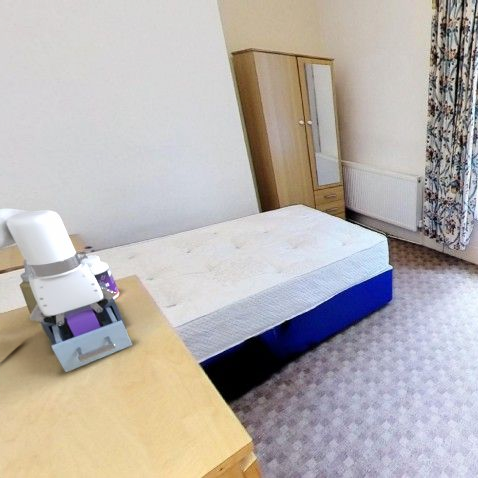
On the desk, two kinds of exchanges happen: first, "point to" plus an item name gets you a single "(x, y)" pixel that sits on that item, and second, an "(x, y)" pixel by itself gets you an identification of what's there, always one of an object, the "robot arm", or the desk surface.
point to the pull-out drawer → (90, 342)
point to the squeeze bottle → (27, 289)
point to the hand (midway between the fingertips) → (86, 328)
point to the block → (82, 321)
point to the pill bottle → (102, 273)
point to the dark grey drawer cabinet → (111, 304)
